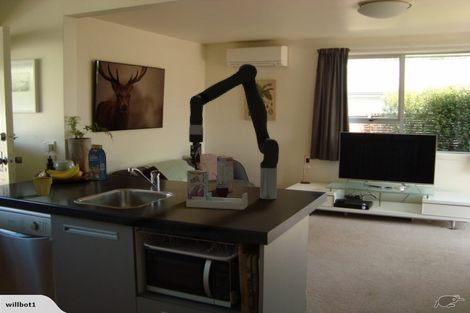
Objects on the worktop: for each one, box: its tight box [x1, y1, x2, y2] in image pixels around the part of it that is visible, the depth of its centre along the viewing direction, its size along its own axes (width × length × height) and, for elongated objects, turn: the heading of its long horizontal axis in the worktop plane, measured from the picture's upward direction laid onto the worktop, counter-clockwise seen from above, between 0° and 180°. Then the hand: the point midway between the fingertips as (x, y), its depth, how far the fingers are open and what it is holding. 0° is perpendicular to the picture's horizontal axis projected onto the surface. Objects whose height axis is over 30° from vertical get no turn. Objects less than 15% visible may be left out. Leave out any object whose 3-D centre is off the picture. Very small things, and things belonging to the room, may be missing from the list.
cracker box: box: [216, 155, 234, 193], centre depth 274 cm, size 14×6×21 cm, turn 22°
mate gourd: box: [212, 172, 230, 198], centre depth 248 cm, size 8×8×15 cm
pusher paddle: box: [206, 192, 225, 201], centre depth 229 cm, size 7×9×5 cm
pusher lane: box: [185, 192, 249, 211], centre depth 229 cm, size 9×30×7 cm, turn 76°
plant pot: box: [32, 176, 53, 197], centre depth 261 cm, size 10×10×10 cm
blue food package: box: [87, 143, 108, 182], centre depth 316 cm, size 6×12×25 cm, turn 56°
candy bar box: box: [186, 169, 210, 200], centre depth 242 cm, size 11×5×16 cm, turn 58°
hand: (196, 163), depth 240 cm, fingers open, 8 cm apart
